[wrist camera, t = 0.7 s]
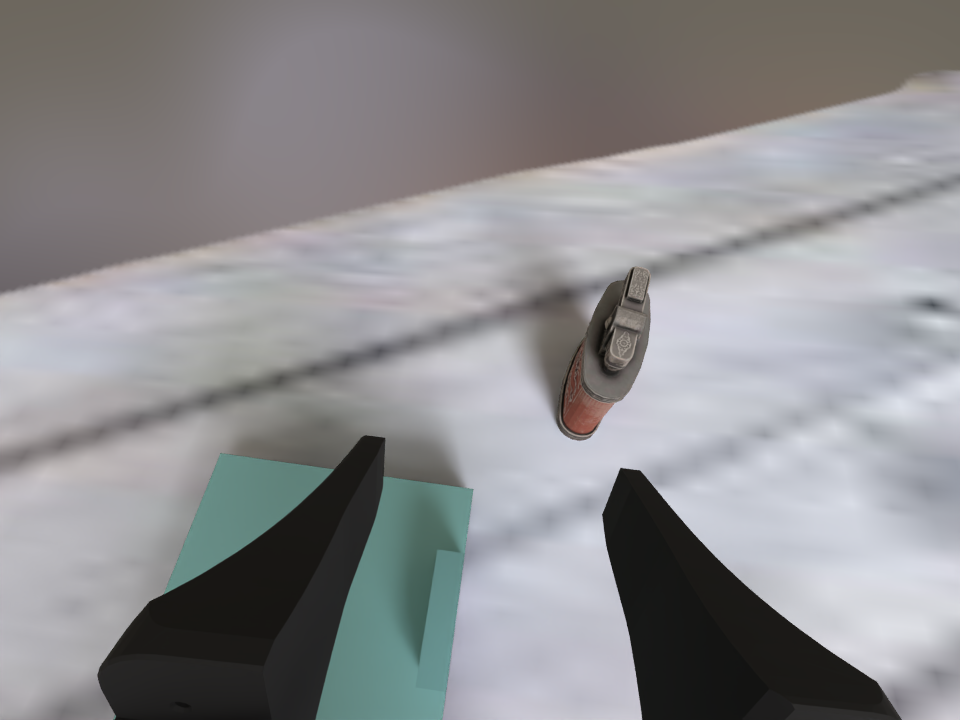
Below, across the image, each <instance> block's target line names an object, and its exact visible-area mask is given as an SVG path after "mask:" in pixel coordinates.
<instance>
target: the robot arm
mask: <svg viewBox="0 0 960 720" xmlns="http://www.w3.org/2000/svg"><path fill="white" fill-rule="evenodd" d="M384 454H385V438H382V437H374V436H367V435H365V436H363V437H362V438H361V439H360V440H359V441H358V443H357V444H356V445H355V446H354V448H353V449H352V450H351V451H350V452H349V454H348V455H347V456H346V457H345V458H344V459H343V460H342V462H341V463H340V464H339V465H338V466H337V467H336V468H335V469H334V470H333V471H332V472H331V474H330V475H329V476H328V477H327V478H326V479H325V480H324V481H323V482H322V483H321V484H320V485H319V486H318V487H317V488H316V489H315V490H314V491H313V492H312V493H311V494H309V495H308V496H307V497H306V498H305V499H304V500H303V501H302V502H301V503H300V504H299V505H298V506H296V507H295V508H294V509H293V510H292V511H291V512H290V513H288V514H287V515H286V516H285V517H284V518H282V519H281V520H280V521H279V522H277V523H276V524H275V525H274V526H272V527H271V528H270V529H268V530H267V531H266V532H264V533H263V534H262V535H260V536H259V537H257V538H256V539H255V540H253V541H252V542H251V543H249V544H248V545H246V546H245V547H243V548H242V549H241V550H239V551H238V552H236V553H234V554H233V555H231V556H230V557H228V558H226V559H225V560H223V561H222V562H220V563H218V564H217V565H215V566H214V567H212V568H210V569H209V570H207V571H206V572H204V573H202V574H201V575H199V576H197V577H195V578H194V579H192V580H190V581H188V582H186V583H184V584H182V585H180V586H179V587H177V588H175V589H173V590H171V591H169V592H167V593H165V594H163V595H162V596H160V597H158V598H156V599H154V600H152V601H150V602H149V603H148V604H147V605H146V606H145V608H144V609H143V610H142V611H141V612H140V614H139V615H138V616H137V617H136V618H135V619H134V620H133V622H132V623H131V624H130V626H129V627H128V628H127V629H126V631H125V632H124V634H123V635H122V636H121V638H120V639H119V641H118V642H117V643H116V645H115V646H114V648H113V649H112V651H111V652H110V653H109V655H108V656H107V658H106V659H105V661H104V662H103V663H102V665H101V666H100V668H99V672H98V680H99V683H100V687H101V689H102V691H103V693H104V695H105V697H106V699H107V700H108V702H109V704H110V706H111V708H112V710H113V711H114V713H115V715H116V718H115V719H114V720H316V715H317V711H318V707H319V703H320V699H321V695H322V691H323V687H324V683H325V679H326V675H327V671H328V667H329V663H330V659H331V655H332V651H333V647H334V644H335V640H336V636H337V632H338V628H339V625H340V621H341V617H342V613H343V610H344V606H345V603H346V599H347V596H348V593H349V590H350V587H351V584H352V582H353V579H354V576H355V574H356V571H357V568H358V565H359V563H360V560H361V557H362V555H363V552H364V549H365V546H366V544H367V541H368V538H369V535H370V533H371V530H372V527H373V524H374V521H375V519H376V515H377V511H378V507H379V502H380V498H381V494H382V490H383V477H384ZM602 516H603V524H604V532H605V539H606V546H607V550H608V554H609V558H610V562H611V566H612V570H613V574H614V577H615V581H616V585H617V588H618V592H619V596H620V600H621V603H622V607H623V611H624V614H625V618H626V622H627V627H628V631H629V635H630V641H631V647H632V653H633V659H634V665H635V671H636V677H637V684H638V691H639V698H640V705H641V712H642V720H902V719H901V718H900V716H899V715H898V713H897V712H896V710H895V709H894V707H893V706H892V704H891V703H890V701H889V700H888V698H887V696H886V695H885V693H884V692H883V690H882V689H881V687H880V686H879V685H878V683H877V682H876V681H874V680H873V679H871V678H870V677H868V676H867V675H865V674H864V673H862V672H861V671H859V670H858V669H856V668H855V667H853V666H852V665H850V664H849V663H847V662H846V661H844V660H842V659H841V658H839V657H838V656H836V655H835V654H833V653H832V652H830V651H829V650H827V649H826V648H825V647H823V646H822V645H820V644H819V643H818V642H816V641H815V640H814V639H812V638H811V637H809V636H808V635H807V634H805V633H804V632H803V631H801V630H800V629H798V628H797V627H796V626H795V625H793V624H792V623H791V622H789V621H788V620H787V619H785V618H784V617H783V616H782V615H780V614H779V613H778V612H777V611H775V610H774V609H773V608H772V607H771V606H769V605H768V604H767V603H766V602H764V601H763V600H762V599H761V598H760V597H758V596H757V595H756V594H755V593H754V592H753V591H751V590H750V589H749V588H748V587H747V586H746V585H745V584H744V583H742V582H741V581H740V580H739V579H738V578H737V577H736V576H735V575H734V574H733V573H732V572H731V571H730V570H728V569H727V568H726V567H725V566H724V565H723V564H722V563H721V562H720V561H719V560H718V559H717V558H716V557H715V556H714V555H713V554H712V553H711V552H710V551H709V550H708V549H707V547H706V546H705V545H704V544H703V543H702V542H701V541H700V540H699V539H698V538H697V537H696V536H695V535H694V534H693V532H692V531H691V530H690V529H689V528H688V527H687V526H686V525H685V523H684V522H683V521H682V520H681V519H680V518H679V517H678V515H677V514H676V513H675V512H674V511H673V509H672V508H671V507H670V506H669V505H668V503H667V502H666V501H665V500H664V499H663V497H662V496H661V495H660V494H659V493H658V491H657V490H656V489H655V488H654V486H653V485H652V484H651V483H650V482H649V480H648V479H647V478H646V477H645V476H644V475H643V473H642V472H641V471H640V470H632V469H624V468H620V471H619V473H618V476H617V478H616V481H615V483H614V486H613V489H612V491H611V494H610V496H609V499H608V501H607V504H606V507H605V509H604V512H603V514H602Z"/></svg>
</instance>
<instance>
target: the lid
mask: <svg viewBox="0 0 960 720" xmlns="http://www.w3.org/2000/svg"><path fill="white" fill-rule="evenodd" d="M333 470H334V469H328V468H321V467H314V466H307V465H300V464H293V463H286V462H279V461H272V460H265V459H258V458H251V457H244V456H237V455H230V454H223V453H221V454H220V456H219V459H218V461H217V464H216V466H215V469H214V471H213V473H212V476H211V478H210V481H209V483H208V486H207V488H206V491H205V493H204V496H203V498H202V501H201V503H200V506H199V508H198V511H197V513H196V516H195V518H194V521H193V523H192V526H191V528H190V531H189V533H188V536H187V538H186V540H185V543H184V545H183V548H182V550H181V553H180V555H179V558H178V560H177V563H176V565H175V568H174V570H173V573H172V575H171V578H170V580H169V583H168V585H167V588H166V590H165V593H167V592H169V591H171V590H173V589H175V588H177V587H179V586H180V585H182V584H184V583H186V582H188V581H190V580H192V579H194V578H195V577H197V576H199V575H201V574H202V573H204V572H206V571H207V570H209V569H210V568H212V567H214V566H215V565H217V564H218V563H220V562H222V561H223V560H225V559H226V558H228V557H230V556H231V555H233V554H234V553H236V552H238V551H239V550H241V549H242V548H243V547H245V546H246V545H248V544H249V543H251V542H252V541H253V540H255V539H256V538H257V537H259V536H260V535H262V534H263V533H264V532H266V531H267V530H268V529H270V528H271V527H272V526H274V525H275V524H276V523H277V522H279V521H280V520H281V519H282V518H284V517H285V516H286V515H287V514H288V513H290V512H291V511H292V510H293V509H294V508H295V507H296V506H298V505H299V504H300V503H301V502H302V501H303V500H304V499H305V498H306V497H307V496H308V495H309V494H311V493H312V492H313V491H314V490H315V489H316V488H317V487H318V486H319V485H320V484H321V483H322V482H323V481H324V480H325V479H326V478H327V477H328V476H329V475H330V474H331V472H332V471H333ZM472 495H473V489H469V488H462V487H455V486H448V485H441V484H434V483H427V482H420V481H413V480H406V479H399V478H392V477H385V476H384V477H383V490H382V494H381V498H380V502H379V507H378V511H377V515H376V519H375V521H374V524H373V527H372V530H371V533H370V535H369V538H368V541H367V544H366V546H365V549H364V552H363V555H362V557H361V560H360V563H359V565H358V568H357V571H356V574H355V576H354V579H353V582H352V584H351V587H350V590H349V593H348V596H347V599H346V603H345V606H344V610H343V613H342V617H341V621H340V625H339V628H338V632H337V636H336V640H335V644H334V647H333V651H332V655H331V659H330V663H329V667H328V671H327V675H326V679H325V683H324V687H323V691H322V695H321V699H320V703H319V707H318V711H317V715H316V720H442V717H443V710H444V702H445V695H446V688H447V681H448V673H449V666H450V659H451V651H452V644H453V636H454V629H455V621H456V614H457V607H458V599H459V592H460V584H461V577H462V570H463V562H464V555H465V547H466V539H467V532H468V525H469V517H470V510H471V502H472ZM165 593H164V594H165ZM115 718H116V715H115V717H114V719H115ZM114 719H113V720H114Z"/></svg>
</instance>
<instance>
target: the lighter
mask: <svg viewBox="0 0 960 720" xmlns="http://www.w3.org/2000/svg"><path fill="white" fill-rule="evenodd" d="M650 278H651V274H650V272H649V271H648V270H647V269H645V268H642V267H632V268H631V269H630V271H629V273H628V275H627V277H626V279H625V280H623V281H616V282H613V283H611V284H610V285H609V286H608V287H607V289H606V291H605V293H604V294H603V296H602V298H601V300H600V301H599V303H598V305H597V307H596V309H595V311H594V314H593V316H592V319H591V322H590V324H589V327H588V329H587V332H586V337H585V338H584V339H583V340H582V341H581V343H580V345H579V346H578V348H577V350H576V352H575V354H574V355H573V357H572V359H571V361H570V364H569V366H568V369H567V371H566V374H565V377H564V379H563V383H562V387H561V392H560V397H559V403H558V417H557V423H558V427H559V429H560V431H561V432H562V433H563V434H564V435H565V436H566V437H568V438H570V439H572V440H578V441H581V440H586V439H588V438H590V437H591V436H592V435H593V434H594V432H595V431H596V430H597V428H598V426H599V424H600V422H601V420H602V418H603V417H604V415H605V414H606V413H607V412H608V410H609V409H610V408H611V407H612V406H613V404H614V403H616V402H618V401H620V400H622V399H623V398H624V397H625V396H626V394H627V393H628V392H629V391H630V389H631V387H632V385H633V383H634V381H635V379H636V377H637V375H638V372H639V370H640V368H641V365H642V362H643V359H644V355H645V352H646V349H647V345H648V338H649V330H650V298H649V295H648V293H647V291H648V287H649V282H650Z"/></svg>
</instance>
